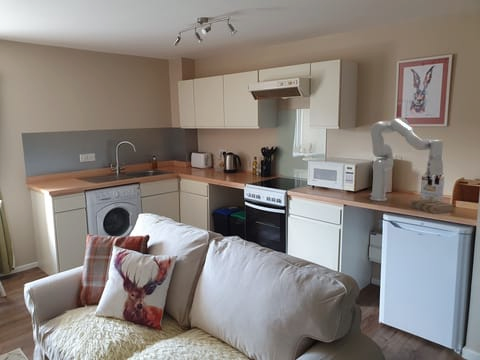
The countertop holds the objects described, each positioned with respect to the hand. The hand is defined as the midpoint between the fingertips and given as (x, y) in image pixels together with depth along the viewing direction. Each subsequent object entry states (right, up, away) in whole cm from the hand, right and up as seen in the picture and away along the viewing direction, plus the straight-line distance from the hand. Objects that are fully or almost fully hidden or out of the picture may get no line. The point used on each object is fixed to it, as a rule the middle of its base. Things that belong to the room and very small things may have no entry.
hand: (433, 184), depth 248 cm
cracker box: (+9, -14, +22) cm, 28 cm away
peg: (0, -17, +3) cm, 17 cm away
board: (0, -17, +3) cm, 17 cm away
